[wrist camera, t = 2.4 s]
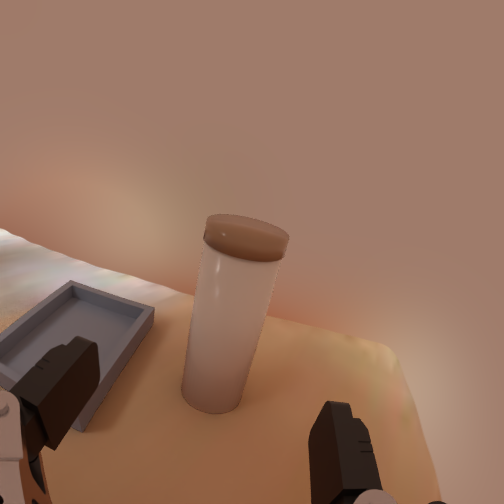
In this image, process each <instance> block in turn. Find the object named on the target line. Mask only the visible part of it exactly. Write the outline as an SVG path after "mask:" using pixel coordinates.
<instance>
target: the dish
mask: <svg viewBox="0 0 504 504" xmlns="http://www.w3.org/2000/svg"><path fill="white" fill-rule="evenodd" d="M154 310H155V308H154V307H150V306H147V305H144V304H141V303H137V302H134V301H131V300H128V299H125V298H121V297H118V296H115V295H112V294H109V293H106V292H103V291H100V290H97V289H94V288H91V287H88V286H86V285H83V284H80V283H77V282H74V281H71V280H70V281H69V282H67V283H66V284H65V285H63V286H62V287H60V288H59V289H58V290H56V291H55V292H54V293H52V294H51V295H50V296H48V297H47V298H45V299H44V300H43V301H41V302H40V303H39V304H37V305H36V306H35V307H34V308H32V309H31V310H30V311H28V312H27V313H26V314H24V315H23V316H22V317H21V318H19V319H18V320H17V321H15V322H14V323H13V324H12V325H10V326H9V327H8V328H7V329H5V330H4V331H3V332H2V333H1V334H0V386H1V387H3V388H4V389H6V390H7V391H9V390H10V389H11V388H12V387H13V386H14V385H15V384H16V383H17V382H18V381H19V380H20V379H21V378H22V377H23V376H24V375H25V374H26V373H27V372H28V371H29V370H30V369H31V368H32V367H33V366H35V364H36V363H37V362H38V361H39V360H40V359H42V357H43V356H44V355H45V354H46V353H47V352H48V351H49V350H50V349H52V348H54V347H56V346H58V345H61V344H64V345H67V344H68V343H69V342H70V341H71V340H72V339H73V338H74V337H76V336H80V337H83V338H85V339H88V340H91V341H93V342H96V343H97V345H98V353H99V365H100V382H99V385H98V387H97V389H96V391H95V392H94V394H93V395H92V397H91V398H90V399H89V401H88V402H87V404H86V405H85V407H84V408H83V410H82V411H81V412H80V414H79V415H78V417H77V418H76V420H75V421H74V423H73V424H72V426H71V427H72V428H74V429H76V430H78V431H80V432H82V433H83V431H84V429H85V428H86V426H87V424H88V423H89V421H90V420H91V418H92V416H93V415H94V413H95V412H96V410H97V409H98V407H99V405H100V404H101V402H102V401H103V399H104V398H105V396H106V394H107V393H108V391H109V390H110V388H111V387H112V385H113V384H114V382H115V380H116V379H117V377H118V376H119V374H120V373H121V371H122V370H123V368H124V367H125V365H126V364H127V362H128V361H129V359H130V358H131V356H132V355H133V353H134V352H135V350H136V349H137V347H138V346H139V344H140V343H141V341H142V340H143V338H144V337H145V335H146V334H147V332H148V331H149V329H150V328H151V327H152V325H153V322H154Z"/></svg>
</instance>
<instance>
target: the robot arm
mask: <svg viewBox="0 0 504 504" xmlns="http://www.w3.org/2000/svg"><path fill="white" fill-rule="evenodd" d="M99 382H100V365H99V353H98V345H97V343H96V342H93V341H91V340H88V339H85V338H83V337H80V336H76V337H74V338H73V339H72V340H71V341H70V342H69V343H68V344H67V345H64V344H61V345H58V346H56V347H54V348H52V349H50V350H49V351H48V352H47V353H46V354H45V355H44V356H43V357H42V359H40V360H39V361H38V362H37V363H36V364H35V366H33V367H32V368H31V369H30V370H29V371H28V372H27V373H26V374H25V375H24V376H23V377H22V378H21V379H20V380H19V381H18V382H17V383H16V384H15V385H14V386H13V387H12V388H11V389H10V390H9V391H4V390H0V504H52V501H51V498H50V495H49V491H48V486H47V482H46V477H45V472H44V466H43V461H42V455H41V452H40V451H41V450H42V448H43V447H44V445H45V446H47V447H49V448H51V449H52V450H54V451H55V450H56V448H57V447H58V445H59V444H60V442H61V441H62V439H63V438H64V436H65V435H66V433H67V432H68V430H69V429H70V427H71V426H72V424H73V423H74V421H75V420H76V418H77V417H78V415H79V414H80V412H81V411H82V410H83V408H84V407H85V405H86V404H87V402H88V401H89V399H90V398H91V397H92V395H93V394H94V392H95V391H96V389H97V387H98V385H99ZM308 447H309V463H310V482H311V504H397V503H396V501H395V499H394V498H393V497H392V496H391V495H390V494H388V493H387V492H385V491H383V489H382V486H381V481H380V477H379V473H378V468H377V464H376V460H375V456H374V453H373V448H372V444H371V440H370V436H369V432H368V429H367V428H366V426H365V425H364V424H363V422H362V421H361V419H359V418H353V416H352V412H351V407H350V405H349V403H343V402H334V401H327V402H326V403H325V404H324V406H323V408H322V410H321V412H320V414H319V415H318V417H317V419H316V421H315V423H314V425H313V427H312V429H311V431H310V435H309V441H308ZM429 504H446V503H444V502H441V501H434V502H431V503H429Z"/></svg>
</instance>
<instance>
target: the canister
mask: <svg viewBox="0 0 504 504" xmlns="http://www.w3.org/2000/svg"><path fill="white" fill-rule="evenodd" d="M288 240H289V235H288V234H287V233H286V232H285V231H284V230H282V229H280V228H279V227H276V226H274V225H272V224H269V223H267V222H263V221H260V220H257V219H253V218H249V217H244V216H238V215H229V214H217V215H211V216H209V217H208V218H207V221H206V227H205V232H204V246H203V252H202V257H201V263H200V268H199V274H198V280H197V286H196V292H195V298H194V304H193V310H192V316H191V323H190V329H189V336H188V343H187V350H186V357H185V364H184V371H183V379H182V387H181V391H182V395H183V397H184V399H185V400H186V401H187V402H188V403H189V404H190V405H191V406H192V407H194V408H195V409H197V410H200V411H202V412H205V413H211V414H221V413H226V412H229V411H231V410H233V409H234V408H236V407H237V406H238V404H239V402H240V400H241V397H242V393H243V390H244V387H245V384H246V380H247V377H248V374H249V371H250V367H251V364H252V361H253V357H254V354H255V351H256V347H257V344H258V341H259V337H260V334H261V331H262V327H263V324H264V320H265V317H266V313H267V310H268V306H269V303H270V299H271V296H272V292H273V289H274V285H275V282H276V278H277V274H278V271H279V267H280V264H281V260H282V258H283V257H284V255H285V251H286V248H287V244H288Z"/></svg>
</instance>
